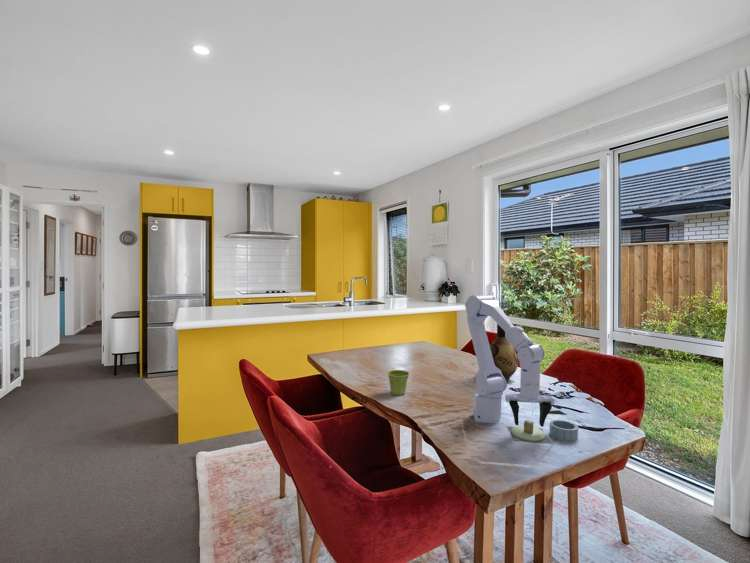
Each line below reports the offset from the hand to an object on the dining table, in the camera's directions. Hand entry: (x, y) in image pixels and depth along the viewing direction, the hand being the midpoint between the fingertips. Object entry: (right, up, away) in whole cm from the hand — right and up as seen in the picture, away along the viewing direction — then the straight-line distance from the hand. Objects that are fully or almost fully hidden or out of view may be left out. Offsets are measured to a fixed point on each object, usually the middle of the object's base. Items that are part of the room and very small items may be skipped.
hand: (528, 424), depth 129 cm
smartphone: (+18, -4, +16) cm, 24 cm away
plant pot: (-39, -2, +41) cm, 57 cm away
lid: (0, -3, 0) cm, 3 cm away
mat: (0, -4, 0) cm, 4 cm away
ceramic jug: (+11, -1, +66) cm, 67 cm away
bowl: (+11, -4, 0) cm, 12 cm away
